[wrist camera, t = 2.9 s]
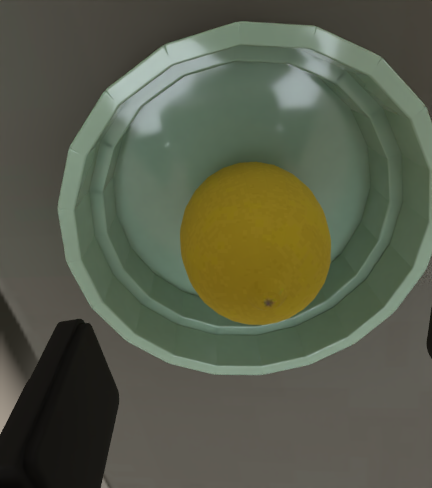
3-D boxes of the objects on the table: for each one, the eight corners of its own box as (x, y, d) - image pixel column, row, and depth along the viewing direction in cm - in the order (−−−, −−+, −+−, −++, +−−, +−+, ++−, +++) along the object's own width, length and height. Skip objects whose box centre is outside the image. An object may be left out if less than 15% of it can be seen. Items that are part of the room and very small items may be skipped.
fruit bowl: (137, -39, 14) (110, -71, 10) (454, 106, 16) (534, 128, 12) (66, 272, 20) (32, 331, 16) (304, 339, 23) (327, 402, 19)
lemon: (160, 182, 17) (133, 280, 10) (265, 115, 16) (316, 175, 9) (223, 267, 20) (235, 394, 13) (319, 215, 18) (392, 323, 11)
